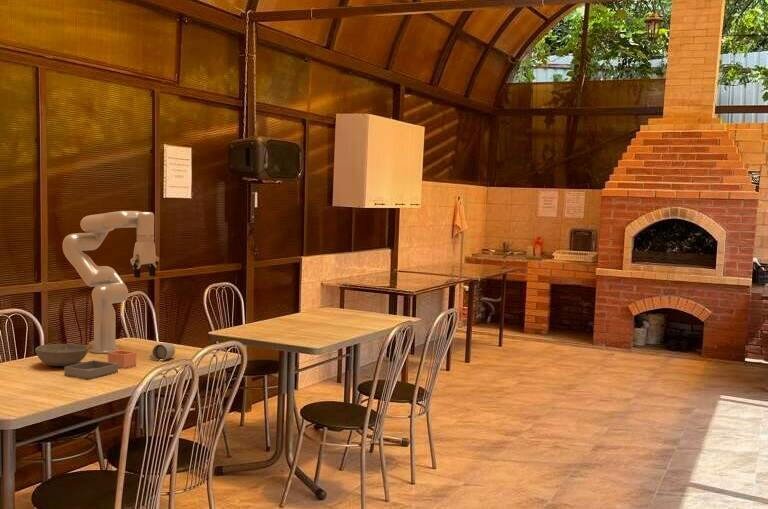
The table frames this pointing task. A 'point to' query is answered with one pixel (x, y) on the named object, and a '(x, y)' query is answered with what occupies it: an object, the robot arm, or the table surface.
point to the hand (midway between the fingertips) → (144, 276)
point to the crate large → (90, 369)
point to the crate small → (122, 358)
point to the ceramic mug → (163, 351)
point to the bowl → (61, 354)
